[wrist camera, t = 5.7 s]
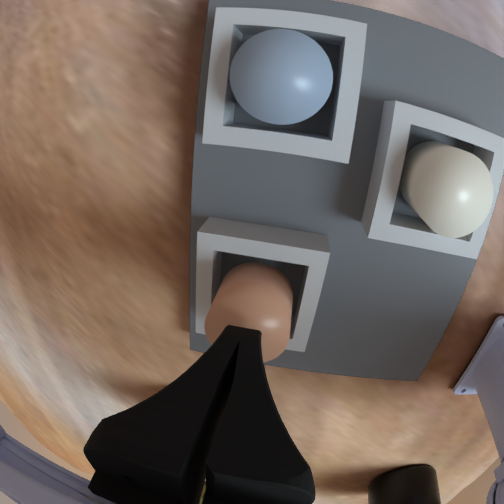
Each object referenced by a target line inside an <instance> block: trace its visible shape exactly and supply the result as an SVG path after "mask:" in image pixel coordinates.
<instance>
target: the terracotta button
mask: <svg viewBox="0 0 504 504" xmlns="http://www.w3.org/2000/svg"><path fill="white" fill-rule="evenodd" d="M292 305H293V290H292V286H291V284H290V282H289V280H288V279H287V277H286V276H285V275H284V274H283V273H282V272H281V271H279V270H278V269H276V268H275V267H272V266H270V265H268V264H264V263H258V262H249V263H244V264H240V265H238V266H236V267H234V268H232V269H231V270H230V271H229V272H228V273H227V274H226V275H225V277H224V279H223V281H222V283H221V285H220V287H219V289H218V292H217V294H216V296H215V298H214V300H213V303H212V305H211V307H210V309H209V311H208V314H207V316H206V319H205V323H204V329H205V334H206V337H207V339H208V341H209V342H210V344H211V345H212V344H213V343H214V342H215V340H216V339H217V338H218V337H219V335H220V334H221V333H222V331H223V330H224V328H225V327H226V326H227V325H233V326H238V327H244V328H249V329H255V330H260V331H261V333H262V336H261V348H262V357H263V363H264V362H268V361H270V360H273V359H275V358H276V357H278V356H279V355H280V354H281V353H282V352H283V351H284V350H285V349H286V347H287V345H288V342H289V337H290V326H291V316H292Z"/></svg>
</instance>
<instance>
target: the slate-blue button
mask: <svg viewBox="0 0 504 504" xmlns="http://www.w3.org/2000/svg"><path fill="white" fill-rule="evenodd" d="M332 84H333V71H332V67H331V63H330V61H329V58H328V56H327V55H326V53H325V51H324V50H323V49H322V47H321V46H320V45H319V44H318V43H317V42H315V41H314V40H313V39H312V38H310V37H308V36H307V35H305V34H302V33H300V32H297V31H294V30H288V29H272V30H267V31H264V32H261V33H258V34H256V35H254V36H253V37H251V38H250V39H248V40H247V41H246V42H245V43H243V45H242V46H241V47H240V48H239V49H238V51H237V52H236V54H235V56H234V58H233V60H232V63H231V67H230V85H231V89H232V92H233V94H234V96H235V98H236V100H237V101H238V103H239V104H240V106H241V107H242V108H243V109H244V110H245V111H246V112H248V113H249V114H250V115H252V116H253V117H255V118H257V119H259V120H261V121H264V122H267V123H271V124H279V125H286V124H293V123H297V122H301V121H303V120H305V119H308V118H309V117H311V116H313V115H314V114H315V113H316V112H318V111H319V110H320V109H321V108H322V106H323V105H324V104H325V102H326V101H327V99H328V97H329V95H330V92H331V89H332Z"/></svg>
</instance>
